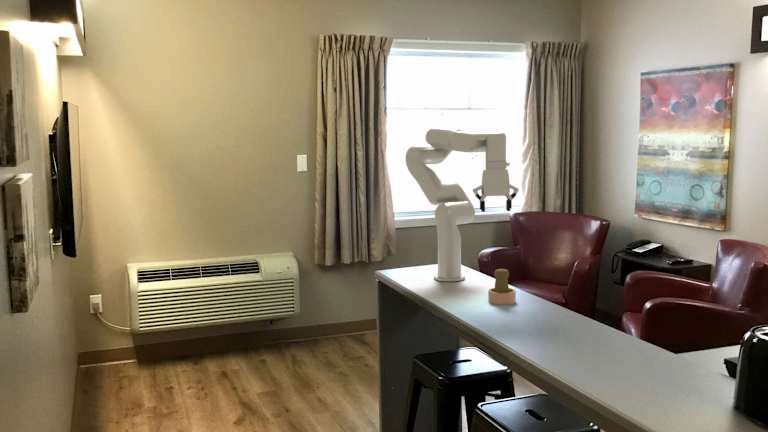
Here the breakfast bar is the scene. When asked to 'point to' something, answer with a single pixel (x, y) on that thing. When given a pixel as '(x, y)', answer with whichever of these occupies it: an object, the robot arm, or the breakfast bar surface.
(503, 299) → the pink faceted round bowl
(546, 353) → the breakfast bar surface
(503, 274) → the cork
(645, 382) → the breakfast bar surface
